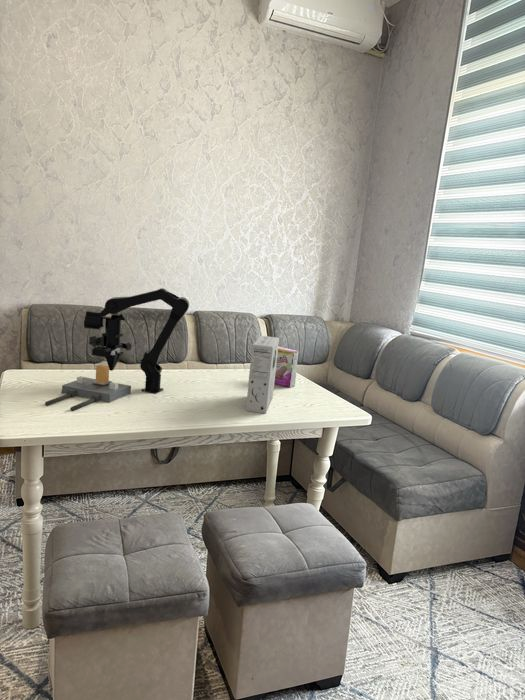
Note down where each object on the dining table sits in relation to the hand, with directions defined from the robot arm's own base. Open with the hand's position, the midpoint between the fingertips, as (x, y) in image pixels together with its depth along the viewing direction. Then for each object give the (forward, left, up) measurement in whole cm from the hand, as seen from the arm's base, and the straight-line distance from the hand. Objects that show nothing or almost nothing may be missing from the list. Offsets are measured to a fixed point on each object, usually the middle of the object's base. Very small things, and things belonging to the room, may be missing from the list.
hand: (111, 370), depth 197 cm
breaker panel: (+9, 0, -7) cm, 11 cm away
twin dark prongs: (+23, 0, -7) cm, 24 cm away
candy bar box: (-48, +57, -7) cm, 75 cm away
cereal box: (-14, +57, -7) cm, 59 cm away
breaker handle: (+6, 0, -4) cm, 7 cm away
